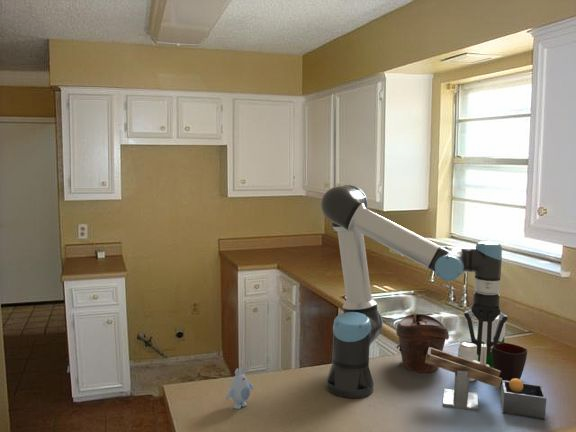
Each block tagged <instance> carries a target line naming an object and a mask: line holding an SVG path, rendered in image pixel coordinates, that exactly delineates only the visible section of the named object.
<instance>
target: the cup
mask: <svg viewBox="0 0 576 432" xmlns="http://www.w3.org/2000/svg"><path fill="white" fill-rule="evenodd" d="M527 356H528V349H527V348H525V347H523V346H520V345H516V344H512V343H508V342H504V343H499V344H497V345H496V346H495V345H494V346H493V347H492V360H493V367H492V368H494V369H497V370H500V371H501V372H500V375H499V377H500V378H502V380H504V381H510V380H511V379H514V378H517V379H519V380H521V377H522V375H523V372H524V369H525V365H526V360H527ZM500 386H502V381H501V384H500Z"/></svg>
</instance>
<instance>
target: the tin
mask: <svg viewBox="0 0 576 432" xmlns="http://www.w3.org/2000/svg"><path fill="white" fill-rule="evenodd" d="M509 382H510V381H504V380H502V385H501V390H500V391H501V392H500V403H501V410H502V414H503V415H509V416H516V417H523V418H529V419H536V420H543V421H545V420H546V405H547V397H546V394H545V393H546V392H545V390H544V388H543V385H539V384H534V383H527V382H525V383H524V382H522V383H523V390H522V391H520V392H513V391H512V390H511V389H510V387H509Z"/></svg>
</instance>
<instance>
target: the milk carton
mask: <svg viewBox="0 0 576 432" xmlns="http://www.w3.org/2000/svg"><path fill="white" fill-rule="evenodd" d="M476 321H478V319H477V318H476ZM498 323H499V315H498V316H497V318H496V319H495V320H494V321H493V322H492V333H491V341H492V340H493V338H494V335H495V332H496V329H497V326H498ZM506 324H507V321H506V322H505V323H504V325H503V328H502V331H501V334H500V337H499V340H498V343H497V344H499V343H505V340H506V339H505V337H506ZM476 334H477V335H476V337H477V336H478V331H477V333H476ZM481 344H483V345H484V344H487V322H486V321H485V322H483V328H482V343H481ZM492 347H493V346H491V352H490V357H489V356H486V364H488V365H489V367H491V368H494V367H493V360H492ZM483 354H484V352H483ZM478 361H479V362H480V355H478Z"/></svg>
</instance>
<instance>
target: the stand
mask: <svg viewBox="0 0 576 432" xmlns="http://www.w3.org/2000/svg"><path fill="white" fill-rule="evenodd" d="M469 384H470V382H469V377H468V371H466V370H458V369H457V373H454V384H453V385H454V386H453V389H449V388H443V399H442V400H443V401H442V406H443V407H449V408H456V409H462V410H469V411H476V412H479V400H478V392H471V391H469Z"/></svg>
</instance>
